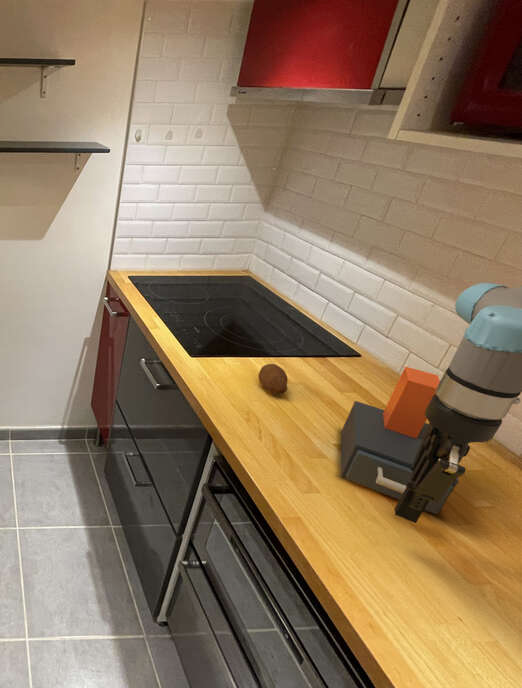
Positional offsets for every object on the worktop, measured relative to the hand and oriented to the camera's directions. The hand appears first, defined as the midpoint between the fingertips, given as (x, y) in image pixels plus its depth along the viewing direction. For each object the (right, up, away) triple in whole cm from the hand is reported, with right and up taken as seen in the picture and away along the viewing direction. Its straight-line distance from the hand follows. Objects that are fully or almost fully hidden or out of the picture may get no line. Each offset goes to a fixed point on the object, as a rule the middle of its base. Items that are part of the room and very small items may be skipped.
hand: (405, 515), depth 76 cm
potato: (+4, +12, +42) cm, 44 cm away
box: (+14, +10, +17) cm, 24 cm away
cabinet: (+12, +1, +17) cm, 21 cm away
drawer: (+10, +1, +14) cm, 17 cm away
